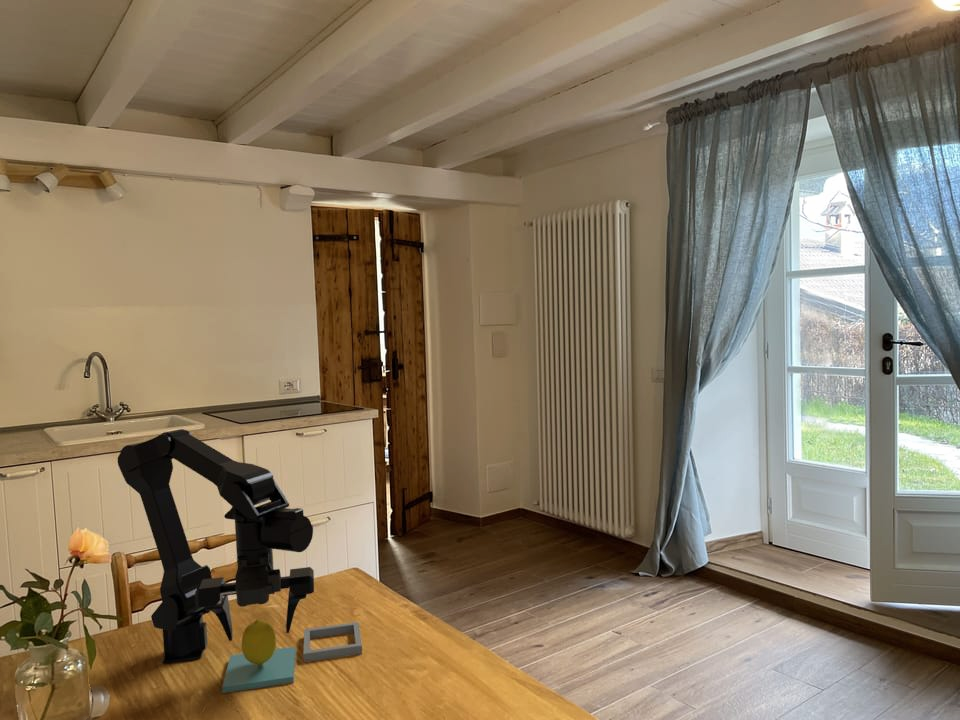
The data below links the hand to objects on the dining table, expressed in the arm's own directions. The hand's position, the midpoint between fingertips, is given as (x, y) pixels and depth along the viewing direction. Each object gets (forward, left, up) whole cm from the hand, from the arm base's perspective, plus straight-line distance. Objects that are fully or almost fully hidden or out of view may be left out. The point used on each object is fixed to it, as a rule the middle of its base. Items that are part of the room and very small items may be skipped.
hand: (259, 636), depth 117 cm
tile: (0, 0, -6) cm, 6 cm away
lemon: (0, 0, -5) cm, 5 cm away
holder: (+12, +6, -6) cm, 15 cm away
